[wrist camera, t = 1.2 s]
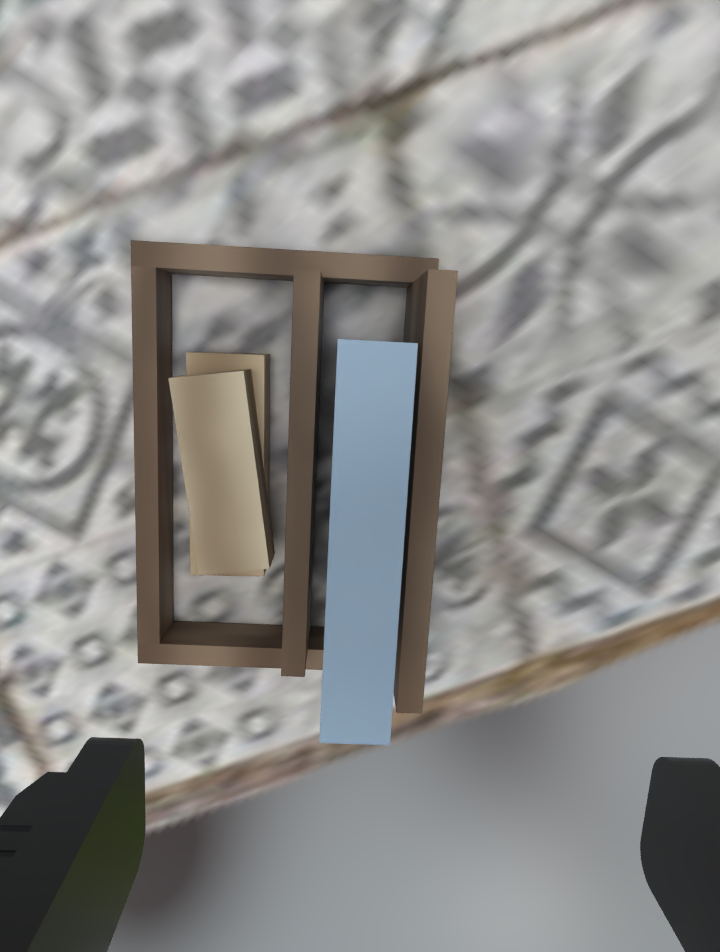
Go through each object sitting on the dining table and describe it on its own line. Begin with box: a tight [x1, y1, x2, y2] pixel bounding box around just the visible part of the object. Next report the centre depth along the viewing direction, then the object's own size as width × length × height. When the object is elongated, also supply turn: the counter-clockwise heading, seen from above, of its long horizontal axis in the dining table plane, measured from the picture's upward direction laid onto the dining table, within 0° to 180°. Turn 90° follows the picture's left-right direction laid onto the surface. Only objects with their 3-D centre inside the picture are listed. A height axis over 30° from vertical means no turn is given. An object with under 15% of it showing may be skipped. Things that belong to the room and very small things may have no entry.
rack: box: [131, 240, 458, 714], centre depth 33 cm, size 15×22×9 cm
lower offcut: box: [186, 352, 270, 576], centre depth 36 cm, size 4×12×3 cm, turn 178°
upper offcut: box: [168, 369, 275, 576], centre depth 33 cm, size 4×10×2 cm, turn 5°
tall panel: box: [319, 339, 418, 745], centre depth 29 cm, size 2×14×16 cm, turn 177°
